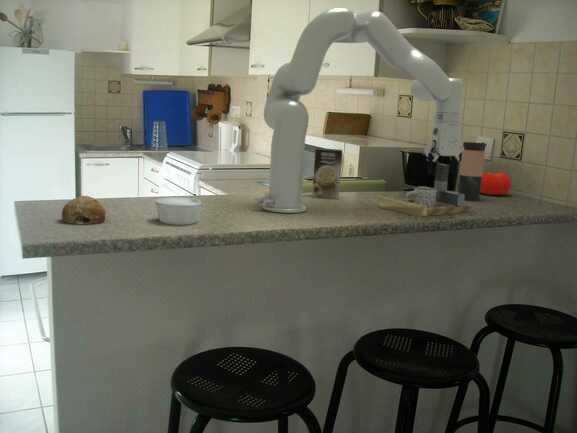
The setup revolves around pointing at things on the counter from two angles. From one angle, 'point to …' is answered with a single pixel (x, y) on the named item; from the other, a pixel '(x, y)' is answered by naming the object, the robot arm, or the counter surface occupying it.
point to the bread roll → (83, 211)
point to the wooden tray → (420, 207)
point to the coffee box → (327, 173)
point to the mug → (423, 196)
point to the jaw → (445, 188)
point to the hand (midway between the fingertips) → (442, 173)
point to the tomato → (495, 184)
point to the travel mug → (471, 170)
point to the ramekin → (178, 210)
